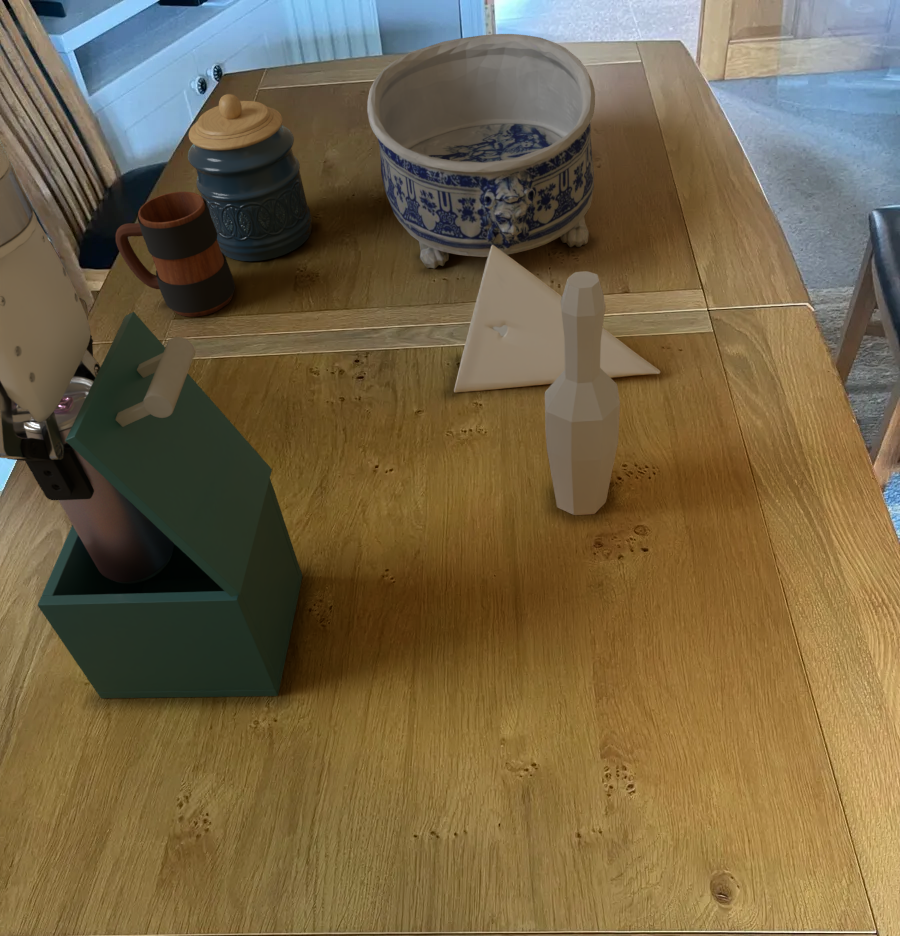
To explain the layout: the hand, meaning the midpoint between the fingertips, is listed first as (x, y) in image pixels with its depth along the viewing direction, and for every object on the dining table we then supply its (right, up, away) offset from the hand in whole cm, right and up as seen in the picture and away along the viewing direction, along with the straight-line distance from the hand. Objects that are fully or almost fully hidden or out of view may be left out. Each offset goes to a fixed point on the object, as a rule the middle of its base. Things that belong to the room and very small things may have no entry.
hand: (86, 460), depth 65 cm
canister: (+1, +38, +58) cm, 69 cm away
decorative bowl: (+30, +41, +57) cm, 76 cm away
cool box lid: (+7, 0, -1) cm, 7 cm away
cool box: (+4, -13, +15) cm, 20 cm away
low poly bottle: (+37, 0, +21) cm, 43 cm away
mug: (-7, +27, +50) cm, 57 cm away
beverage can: (+1, -7, +8) cm, 10 cm away
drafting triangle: (+36, +16, +35) cm, 52 cm away
